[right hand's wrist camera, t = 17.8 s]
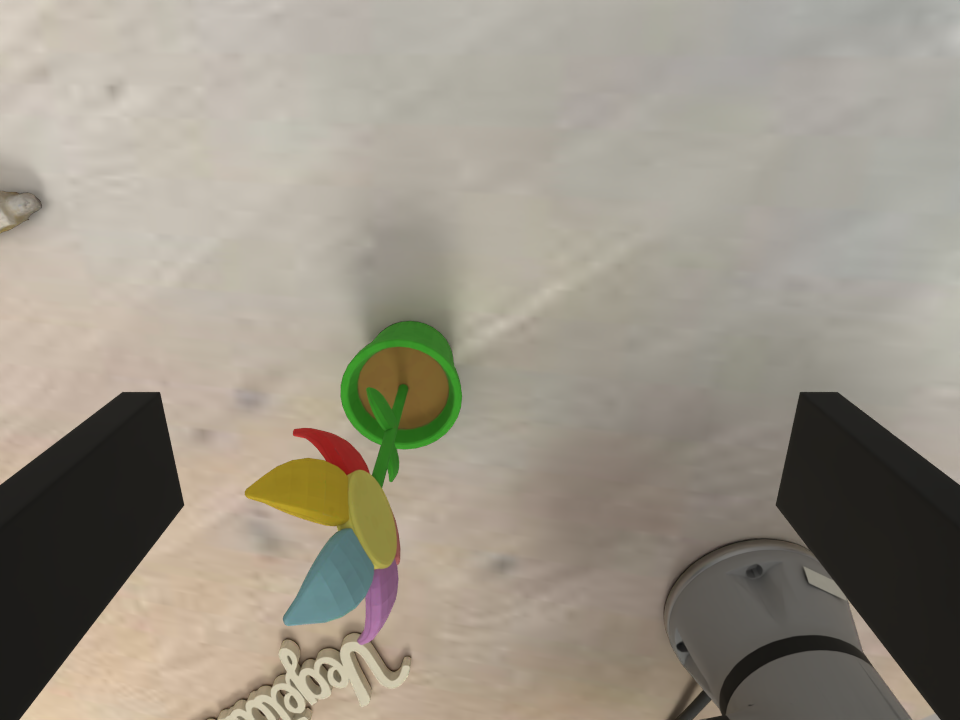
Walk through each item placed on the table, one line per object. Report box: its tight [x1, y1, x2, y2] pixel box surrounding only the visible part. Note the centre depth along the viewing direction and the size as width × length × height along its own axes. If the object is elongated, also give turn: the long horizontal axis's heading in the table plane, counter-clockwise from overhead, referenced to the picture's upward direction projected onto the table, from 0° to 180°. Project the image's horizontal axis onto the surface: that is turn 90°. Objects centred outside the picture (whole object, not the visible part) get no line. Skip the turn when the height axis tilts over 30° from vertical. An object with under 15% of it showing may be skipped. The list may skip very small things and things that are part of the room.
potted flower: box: [245, 321, 462, 645], centre depth 34 cm, size 9×8×25 cm
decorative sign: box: [207, 633, 411, 720], centre depth 57 cm, size 26×1×10 cm
